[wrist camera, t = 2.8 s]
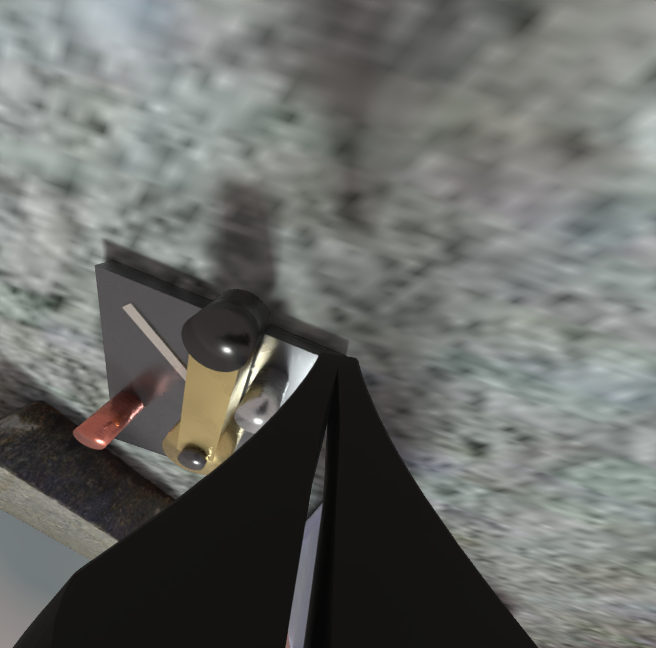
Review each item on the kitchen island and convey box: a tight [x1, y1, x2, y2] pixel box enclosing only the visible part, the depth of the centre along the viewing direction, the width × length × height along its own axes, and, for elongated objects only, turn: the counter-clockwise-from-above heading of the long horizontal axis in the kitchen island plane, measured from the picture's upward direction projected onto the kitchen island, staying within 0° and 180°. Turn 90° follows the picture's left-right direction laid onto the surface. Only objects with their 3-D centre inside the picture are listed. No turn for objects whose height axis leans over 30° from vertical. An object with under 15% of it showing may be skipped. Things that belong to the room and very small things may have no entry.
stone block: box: [0, 402, 175, 560], centre depth 24 cm, size 14×20×5 cm
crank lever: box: [162, 289, 270, 475], centre depth 13 cm, size 12×4×3 cm, turn 158°
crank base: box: [73, 260, 345, 456], centre depth 16 cm, size 16×14×4 cm
